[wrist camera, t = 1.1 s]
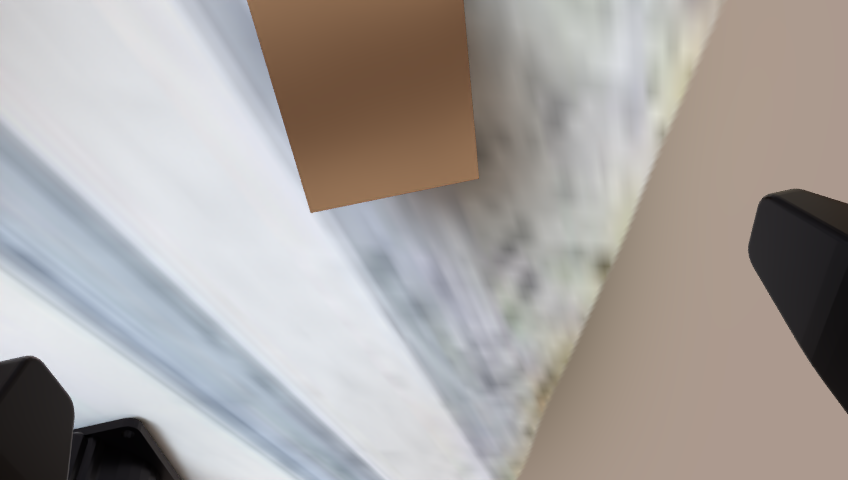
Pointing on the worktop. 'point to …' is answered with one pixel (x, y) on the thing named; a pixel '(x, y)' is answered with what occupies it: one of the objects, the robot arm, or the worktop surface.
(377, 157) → the block
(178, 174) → the worktop surface
